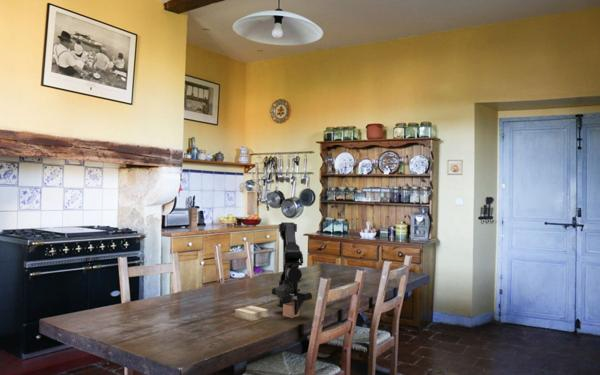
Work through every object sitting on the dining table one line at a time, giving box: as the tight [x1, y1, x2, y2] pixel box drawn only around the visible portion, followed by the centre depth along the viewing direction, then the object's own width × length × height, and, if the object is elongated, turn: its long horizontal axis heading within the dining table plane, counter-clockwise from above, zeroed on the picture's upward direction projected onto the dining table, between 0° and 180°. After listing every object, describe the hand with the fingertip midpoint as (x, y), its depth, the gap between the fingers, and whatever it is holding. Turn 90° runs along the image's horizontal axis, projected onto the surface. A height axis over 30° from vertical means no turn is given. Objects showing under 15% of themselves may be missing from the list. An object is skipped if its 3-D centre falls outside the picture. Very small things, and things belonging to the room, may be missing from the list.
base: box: [234, 305, 269, 322], centre depth 206 cm, size 10×10×3 cm
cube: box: [282, 302, 300, 319], centre depth 209 cm, size 5×5×5 cm
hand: (291, 313), depth 209 cm, fingers closed on cube, 5 cm apart
